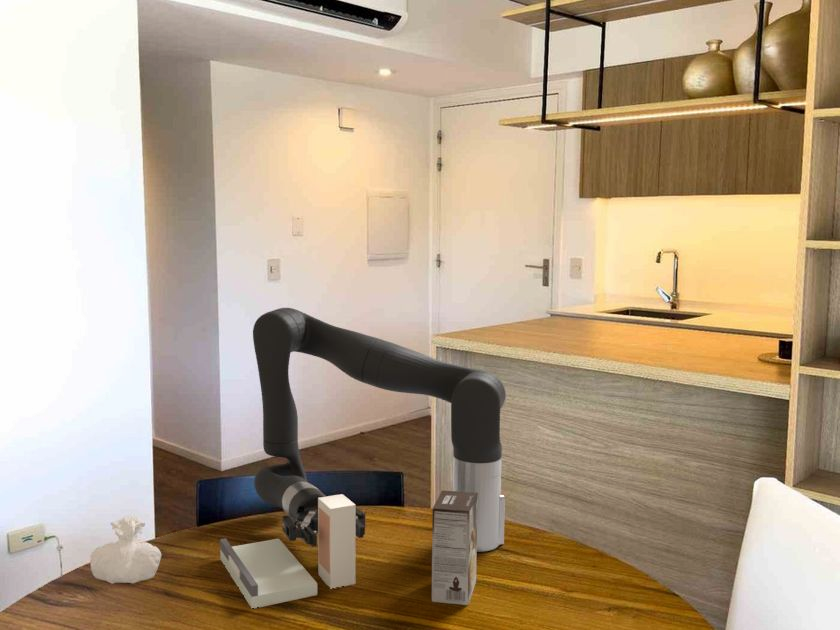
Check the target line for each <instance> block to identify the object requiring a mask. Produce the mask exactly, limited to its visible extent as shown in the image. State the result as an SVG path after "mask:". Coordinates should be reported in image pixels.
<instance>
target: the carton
mask: <svg viewBox="0 0 840 630" xmlns="http://www.w3.org/2000/svg"><path fill="white" fill-rule="evenodd" d="M356 508H357V505H356V504H355V503H354V502H353V501H351V500H350V499H349V498H348V497H347V496H345V495H344V494H343V493H341V494H334V495H328V496H327V497H320V498H318V533H317V549H318V551H317V552H318V553H317V554H318V555H317V561H318V562H317V563H318V566H317V567H318V573H317V574H318V577H319V576H320V577H321V578H322V579H321V578H320V577H319V578H320V579H321V580H322V582H324V584H326V586H327V585H328V586H329V587H330V588H329V587H328V586H327V587H328V588H329V589H330V590H333V589H332V588H334V589H337V588H336V587H339V588H343V587H342V586H344V587H348V586H352V585H353V586H354V585H356V552H357V551H356V548H357V547H356V538H357V536H356Z"/></svg>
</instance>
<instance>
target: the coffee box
mask: <svg viewBox="0 0 840 630" xmlns="http://www.w3.org/2000/svg"><path fill="white" fill-rule="evenodd" d="M477 497H478V493H474V492H459V491H453V490H442V491H440V494H439V496H438V498H437V499H436V501H435V503H434V505H433V507H432V528H431V529H432V530H431V531H432V533H431V536H432V537H431V541H432V543H431V545H432V547H431V602H433V603H441V604H453V605H462V606H469V604H470V601H471V599H472V595H473V592H474V589H475V586H476V582H477V556H478V555H477Z"/></svg>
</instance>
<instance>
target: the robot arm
mask: <svg viewBox="0 0 840 630" xmlns="http://www.w3.org/2000/svg"><path fill="white" fill-rule="evenodd" d="M252 340H253V341H252V342H253V348H254V354H255V358H256V364H257V370H258V371H257V372H258V376H259V383H260V391H261V402H262V431H263V432H262V434H263V435H262V439H263V440H262V441H263V443H262V445H263V452H264V453H265V454H266V455H267V456H269V457H270V456H271V457H274V458H275V457H277V458H285V459H286V463H280V464H273V465H266V466H263V467H261V468H260V469H259V470H258V471H257V472H256V474H255V476H254V480H253V486H254V490H255V492H256V494H257V496H258V498H259V499H261V500H262V501H263V502H264V503H266V504H267V505H268V504H269V505H271V506H274V507H277V508H282V510H283V511H284V513H285V514H286V515H283V516H281V517H282V519H281V520H282V523H281V525H282V532H283V533H284V534H285V536H286V538H287V540H289V541H291V542H294V541H297V539H300V541H303V542H304V543H306V544H307V545H309V546H310V547H312V548H314V547H318V498H320V497H327V496H326V494H324V492H322V491H321V490H320V489H319V488H317V487H316V486H315V485H313V484H311V483H310V482H309V481H308V480H307V474H306V471H305V468H304V465H303V461H302V458H301V454H300V449H299V437H298V436H299V433H298V432H299V429H298V428H299V427H298V426H299V423H298V421H299V419H298V418H299V416H298V411H297V410H298V409H297V405H296V401H295V400H294V395H293V393H292V389H291V385H290V384H291V383H290V378H289V377H290V376H289V368H290V367H289V366H290V360H291V353H293V352H296V353H302V354H305V355H309V356H313V357H316V358H319V359H322V360H325V361H327V362H329V363H330V364H332V365H333V366H335V367H336V368H337V369H339V370H340V371H342V372H343V373H345V375H347V376H348V377H350V378H352V379H354V380H356V381H358V382H361V383H364V384H366V385H369V386H371V387H375V388H379V389H383V390H384V391H390V392H395V393H404V394H414V395H415V394H416V395H425V396H429V397H434V398H437V399H439V400H442V401H445V402H448V403H450V424H451V426H450V427H451V429H450V432H451V433H450V436H451V438H450V439H451V443H452V448H453V449H452V450H453V458H452V459H453V461H452V462H453V463H452V491H459V492H474V493H478V497H477V552H478V553H479V552H480V553H481V552H488V551H493V550H495V549H497V548H498V547H499V546H501V545H504V543H505V512H506V510H505V508H506V507H505V506H506V498H505V497H506V496H505V495H504V494H502V493H501V492H502V456H503V455H502V452H503V449H502V448H503V446H502V443H501V437H500V436H501V435H500V434H501V433H500V430H501V429H500V428H501V426H500V425H501V409H502V408H503V406H504V404H505V401H506V397H507V396H506V395H507V394H506V388H505V386H504V384H503V382H502V381H501V380H500V378H498V377H497V375H495V374H493V373H491V372H489V371H487V370H481V369H477V368H472V367H466V366H461V365H458V364H452V363H449V362H446V361H442V360H438V359H436V358H433V357H432V356H429V355H426V354H423V353H421V352H418V351H416V350H414V349H410V348H407V347H404V346H402V345H400V344H397V343H394V342H390V341H387V340H384V339H381V338H377V337H376V336H371V335H367V334H364V333H361V332H358V331H354V330H350V329H346V328H342V327H338V326H335V325H333V324H330V323H327V322H325V321H323V320H320V319H319V318H316V317H314V316H311V315H309V314H307V313H305V312H303V311H300V310H298V309H295V308H292V307H280V308H277V309H273V310H270V311H267V312H265V313H263V314H262V315H260V316H259V317H258V318H257V319H256V321H255V322H254V325H253V328H252ZM366 517H367V516H366V513H365V512H364V511H362V509H359V508H358V507H356V538H358V539H362V538H364V535H365V534H366V533H365V532H366V528H367V527H366Z"/></svg>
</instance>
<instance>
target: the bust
mask: <svg viewBox="0 0 840 630" xmlns="http://www.w3.org/2000/svg"><path fill="white" fill-rule="evenodd" d="M110 525H111V526H112V530H115V532H114V533H115V535H116V536H117V538H118V540H117V541H115V542H109V543H105V544H104V545H102V546H97V547H96V548H95V549H94V550H93V551H92V552H90V553H91V554H90V558H89V563H90V570H91V573H92V575H93V577H94V578H95V579H96V580H100V581H103V582H104V581H106V582H107V583H110V584H127V583H129V584H137V583H138V582H141V581H146V580H150V579H153V578H154V577H155V575H156V573H157V571H158V568H159V565H160V562H161V559H162V552H161V550H160V549H159V548H158V547H157V546H155V545H152V544H151V543H149V542H146V541H143V542H140V539H139V538H138V535H137V534H140V535H141V534H142V533H143V527H145V526H146V522H145V521H143V520H141V519H140V518H139V517H138V516H135V515H132V514H130V515H127V516H124V517H122V518H121V519H120V518H119V520H115V522H114V521H112V522H110Z"/></svg>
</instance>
